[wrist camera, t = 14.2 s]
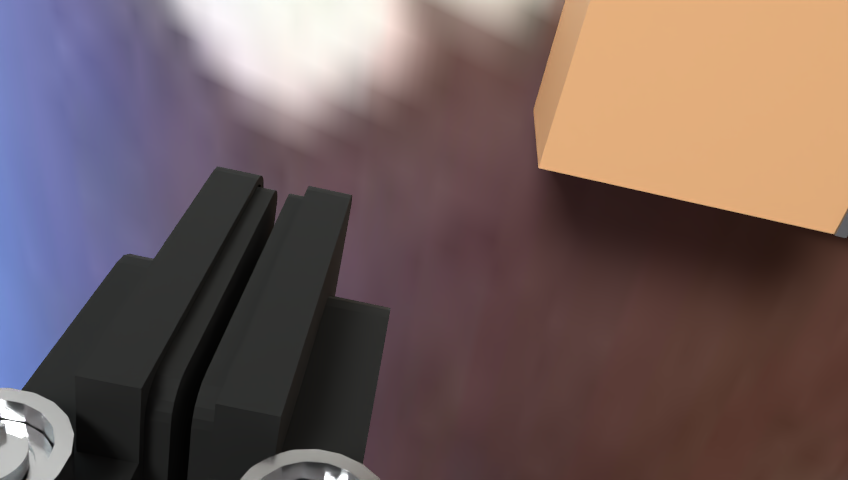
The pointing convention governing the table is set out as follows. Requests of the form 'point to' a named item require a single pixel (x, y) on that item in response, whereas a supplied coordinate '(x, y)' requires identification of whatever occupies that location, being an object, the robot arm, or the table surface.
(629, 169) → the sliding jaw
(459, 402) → the table surface
